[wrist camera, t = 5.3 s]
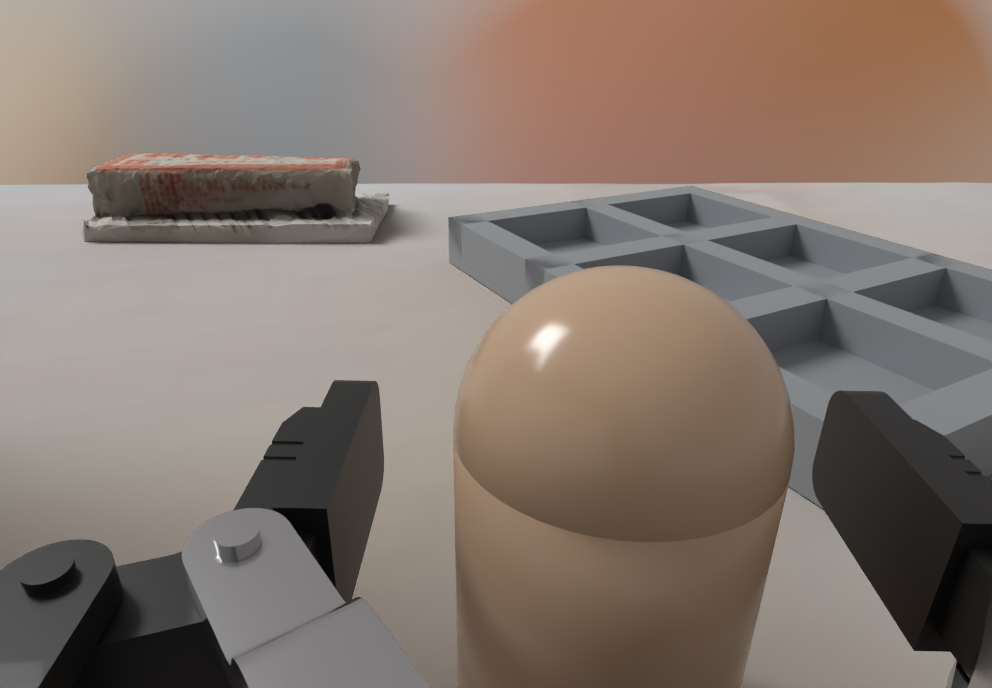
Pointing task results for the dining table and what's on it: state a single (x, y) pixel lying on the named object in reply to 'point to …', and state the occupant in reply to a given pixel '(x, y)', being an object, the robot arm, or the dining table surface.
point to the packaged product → (230, 200)
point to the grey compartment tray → (778, 298)
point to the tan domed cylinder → (616, 486)
